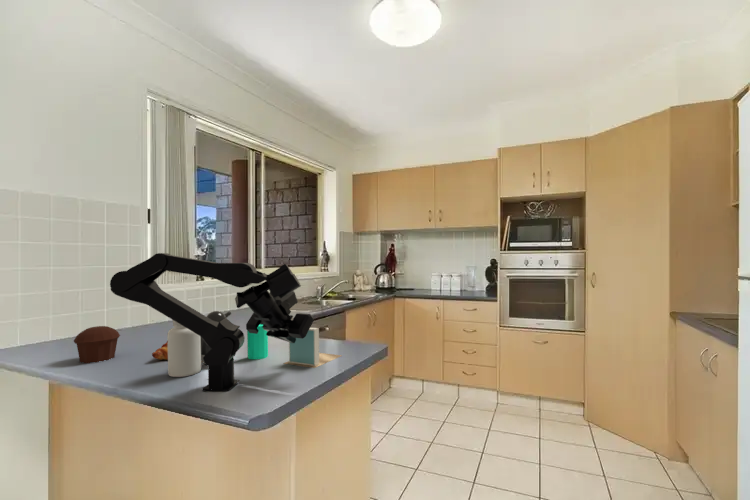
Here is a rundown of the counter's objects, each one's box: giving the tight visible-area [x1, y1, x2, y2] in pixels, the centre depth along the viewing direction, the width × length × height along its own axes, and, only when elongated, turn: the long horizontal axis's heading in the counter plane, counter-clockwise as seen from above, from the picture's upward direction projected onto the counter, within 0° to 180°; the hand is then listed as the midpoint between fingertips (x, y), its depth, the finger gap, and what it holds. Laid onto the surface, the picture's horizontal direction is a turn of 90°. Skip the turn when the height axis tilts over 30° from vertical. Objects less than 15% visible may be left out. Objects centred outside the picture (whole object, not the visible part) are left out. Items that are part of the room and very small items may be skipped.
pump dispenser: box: [200, 310, 232, 364], centre depth 111 cm, size 10×10×15 cm
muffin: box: [73, 325, 121, 364], centre depth 118 cm, size 12×11×10 cm
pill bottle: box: [167, 320, 202, 378], centre depth 101 cm, size 8×8×15 cm
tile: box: [288, 327, 320, 366], centre depth 107 cm, size 2×9×10 cm, turn 63°
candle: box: [246, 324, 269, 360], centre depth 115 cm, size 6×6×12 cm
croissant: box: [151, 339, 168, 361], centre depth 122 cm, size 21×10×8 cm, turn 158°
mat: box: [283, 352, 343, 369], centre depth 111 cm, size 14×11×1 cm
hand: (294, 341), depth 103 cm, fingers closed
